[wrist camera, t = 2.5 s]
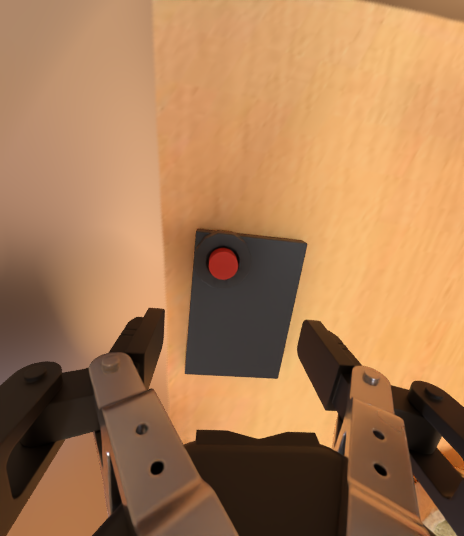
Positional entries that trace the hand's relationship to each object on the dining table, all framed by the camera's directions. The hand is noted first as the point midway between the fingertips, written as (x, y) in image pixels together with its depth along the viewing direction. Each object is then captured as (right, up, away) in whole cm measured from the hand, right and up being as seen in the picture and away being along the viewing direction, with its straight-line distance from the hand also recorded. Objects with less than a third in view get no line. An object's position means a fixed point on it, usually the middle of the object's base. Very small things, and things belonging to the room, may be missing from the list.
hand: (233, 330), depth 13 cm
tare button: (-1, +4, +12) cm, 13 cm away
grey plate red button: (+1, -2, +17) cm, 17 cm away
